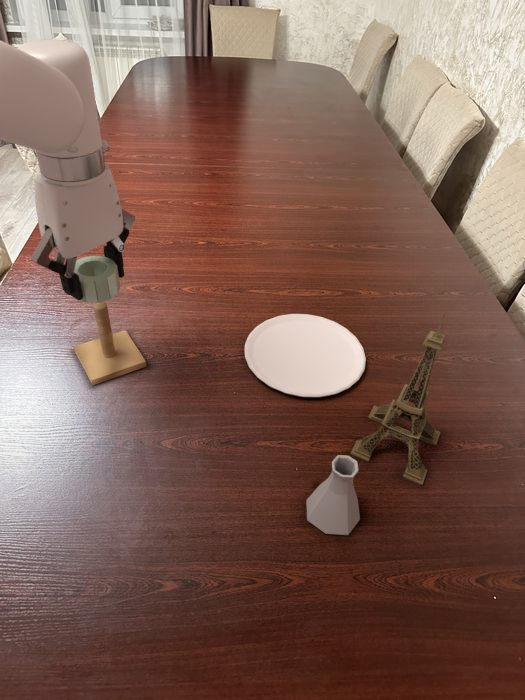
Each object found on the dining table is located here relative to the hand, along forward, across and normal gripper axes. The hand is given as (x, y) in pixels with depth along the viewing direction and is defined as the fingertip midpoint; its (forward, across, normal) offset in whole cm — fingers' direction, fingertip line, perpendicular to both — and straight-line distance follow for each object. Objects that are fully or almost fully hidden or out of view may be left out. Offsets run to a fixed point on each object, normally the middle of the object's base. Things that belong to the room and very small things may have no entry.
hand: (95, 283), depth 74 cm
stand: (+17, -1, -2) cm, 17 cm away
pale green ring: (+1, 0, 0) cm, 1 cm away
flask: (+17, -1, +42) cm, 45 cm away
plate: (+17, -23, +22) cm, 36 cm away
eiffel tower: (+17, -17, +43) cm, 49 cm away
